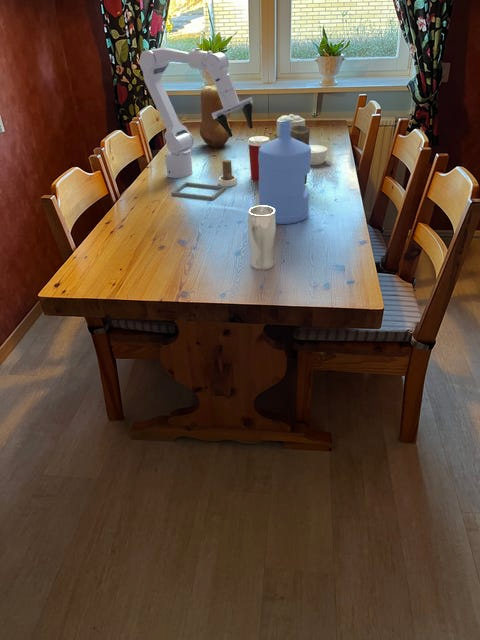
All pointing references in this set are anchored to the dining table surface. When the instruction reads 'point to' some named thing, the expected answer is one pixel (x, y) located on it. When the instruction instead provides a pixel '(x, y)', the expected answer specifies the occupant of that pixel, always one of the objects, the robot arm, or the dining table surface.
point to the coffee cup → (255, 154)
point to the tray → (177, 193)
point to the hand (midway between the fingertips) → (241, 132)
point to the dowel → (227, 170)
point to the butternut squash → (211, 127)
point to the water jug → (284, 176)
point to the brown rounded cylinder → (301, 136)
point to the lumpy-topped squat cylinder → (291, 118)
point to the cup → (227, 181)
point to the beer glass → (262, 236)
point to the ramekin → (318, 154)
